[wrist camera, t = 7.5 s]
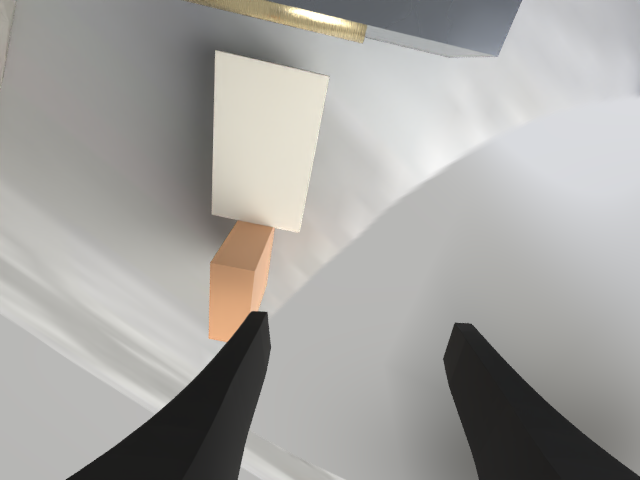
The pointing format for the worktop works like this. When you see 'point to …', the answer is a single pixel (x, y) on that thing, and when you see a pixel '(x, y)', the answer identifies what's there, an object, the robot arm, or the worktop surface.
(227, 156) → the two-tone stacked block
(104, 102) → the worktop surface
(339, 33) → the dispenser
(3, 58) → the packaged product
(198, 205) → the worktop surface
